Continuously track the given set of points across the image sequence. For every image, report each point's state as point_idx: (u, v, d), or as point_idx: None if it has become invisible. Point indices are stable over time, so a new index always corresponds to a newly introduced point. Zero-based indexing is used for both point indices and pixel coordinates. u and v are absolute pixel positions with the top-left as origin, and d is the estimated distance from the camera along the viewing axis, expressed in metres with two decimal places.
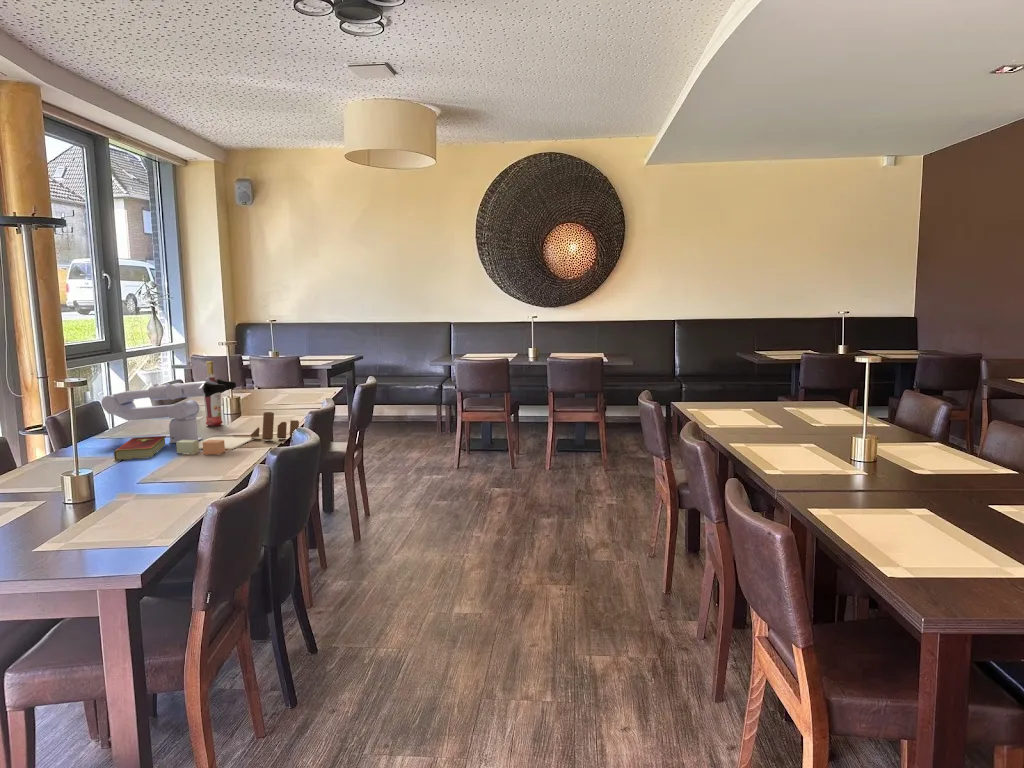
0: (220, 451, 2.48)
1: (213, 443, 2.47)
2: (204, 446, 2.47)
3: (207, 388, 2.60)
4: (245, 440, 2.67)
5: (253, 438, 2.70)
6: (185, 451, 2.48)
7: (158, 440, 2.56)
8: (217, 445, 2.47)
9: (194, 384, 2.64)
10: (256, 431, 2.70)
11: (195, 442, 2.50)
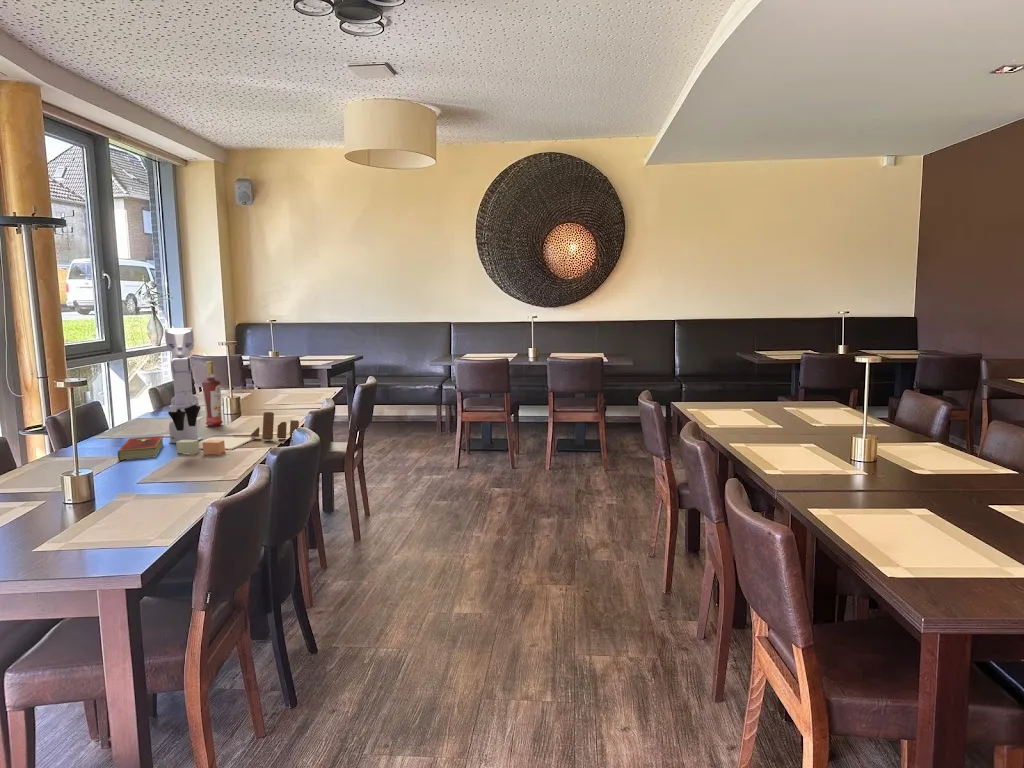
0: (220, 451, 2.48)
1: (213, 443, 2.47)
2: (204, 446, 2.47)
3: None
4: (245, 440, 2.67)
5: (253, 438, 2.70)
6: (185, 451, 2.48)
7: (158, 440, 2.56)
8: (217, 445, 2.47)
9: (185, 392, 2.45)
10: (256, 431, 2.70)
11: (195, 442, 2.50)
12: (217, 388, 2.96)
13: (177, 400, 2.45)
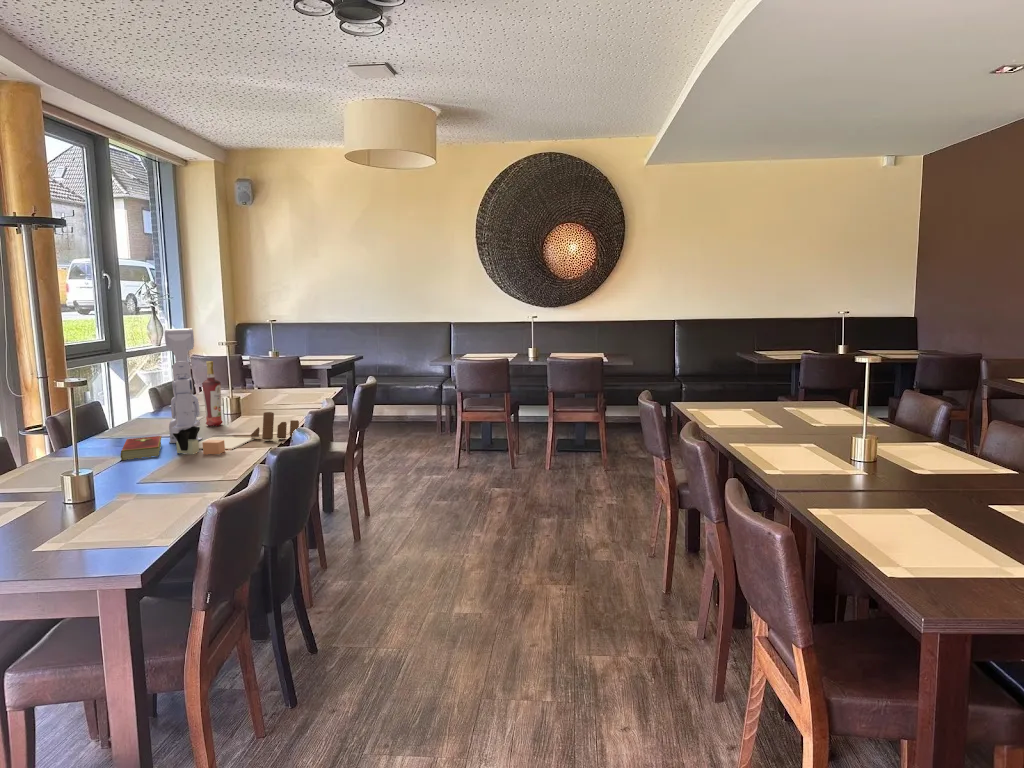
0: (220, 451, 2.48)
1: (213, 443, 2.47)
2: (204, 446, 2.47)
3: (182, 433, 2.46)
4: (245, 440, 2.67)
5: (253, 438, 2.70)
6: (185, 451, 2.48)
7: (158, 440, 2.56)
8: (217, 445, 2.47)
9: (187, 413, 2.46)
10: (256, 431, 2.70)
11: (195, 442, 2.50)
12: (217, 388, 2.96)
13: (179, 421, 2.46)
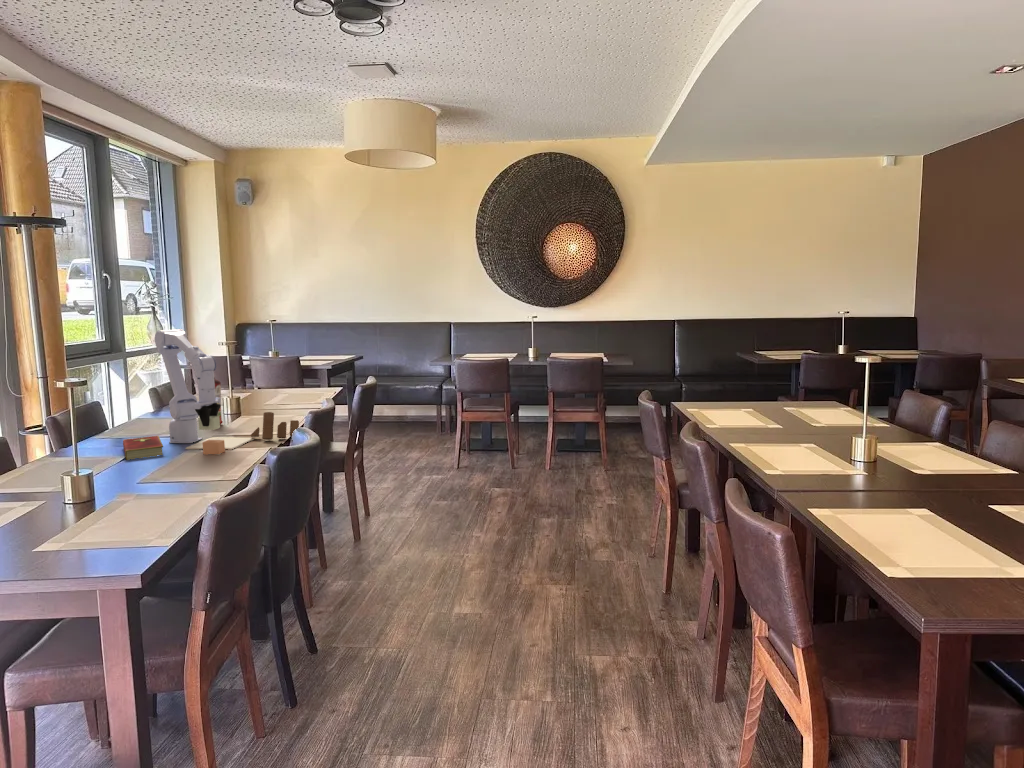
0: (220, 451, 2.48)
1: (213, 443, 2.47)
2: (204, 446, 2.47)
3: (203, 409, 2.54)
4: (245, 440, 2.67)
5: (253, 438, 2.70)
6: (207, 426, 2.56)
7: (157, 439, 2.57)
8: (217, 445, 2.47)
9: (209, 390, 2.54)
10: (256, 431, 2.70)
11: (216, 418, 2.58)
12: (217, 388, 2.96)
13: (201, 398, 2.54)
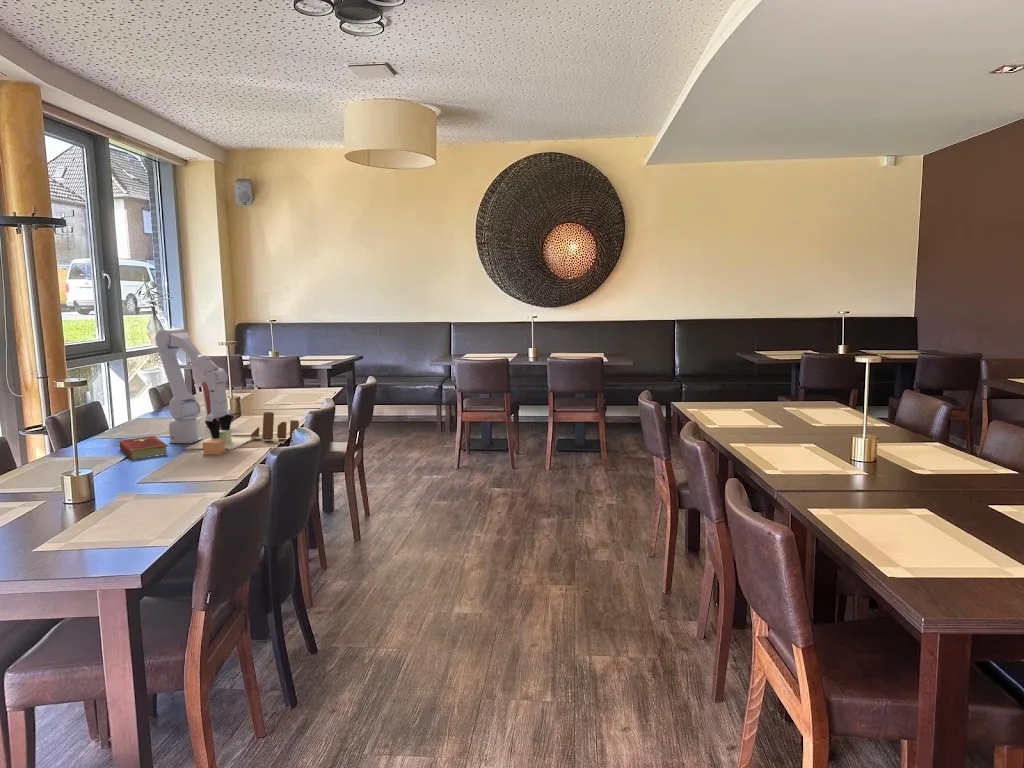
0: (220, 451, 2.48)
1: (213, 443, 2.47)
2: (204, 446, 2.47)
3: None
4: (245, 440, 2.67)
5: (253, 438, 2.70)
6: None
7: (157, 439, 2.57)
8: (217, 445, 2.47)
9: (221, 402, 2.59)
10: (256, 431, 2.70)
11: (228, 432, 2.63)
12: None
13: (212, 410, 2.59)
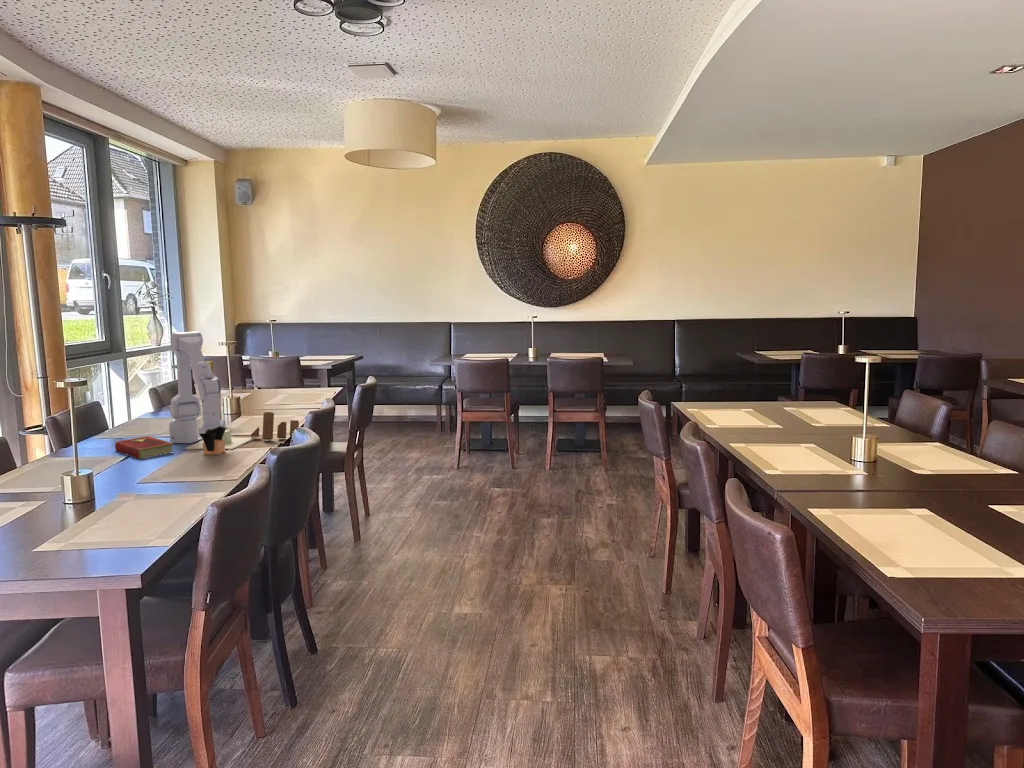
0: (220, 451, 2.48)
1: None
2: (204, 446, 2.47)
3: None
4: (245, 440, 2.67)
5: (253, 438, 2.70)
6: None
7: (155, 439, 2.58)
8: (217, 445, 2.47)
9: (214, 414, 2.45)
10: (256, 431, 2.70)
11: (228, 432, 2.63)
12: None
13: (205, 422, 2.45)
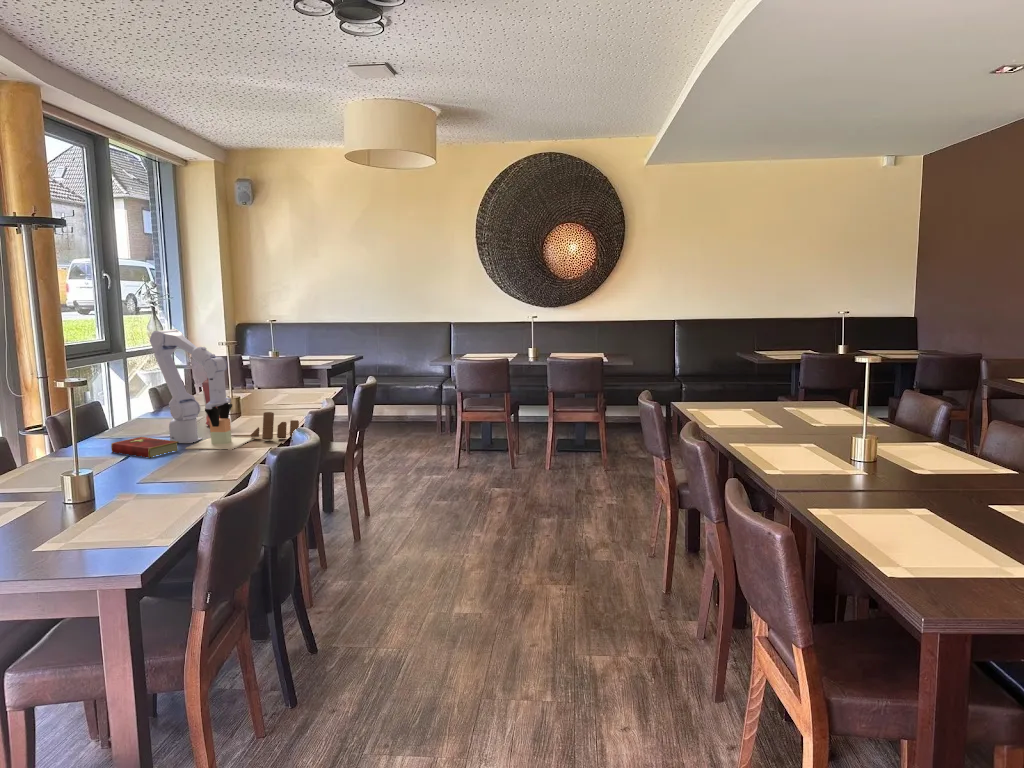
0: (226, 428, 2.61)
1: (219, 421, 2.60)
2: (211, 424, 2.61)
3: None
4: (245, 440, 2.67)
5: (253, 438, 2.70)
6: (219, 440, 2.61)
7: (153, 438, 2.58)
8: (223, 423, 2.60)
9: (220, 391, 2.59)
10: (256, 431, 2.70)
11: (228, 432, 2.63)
12: None
13: (212, 398, 2.59)
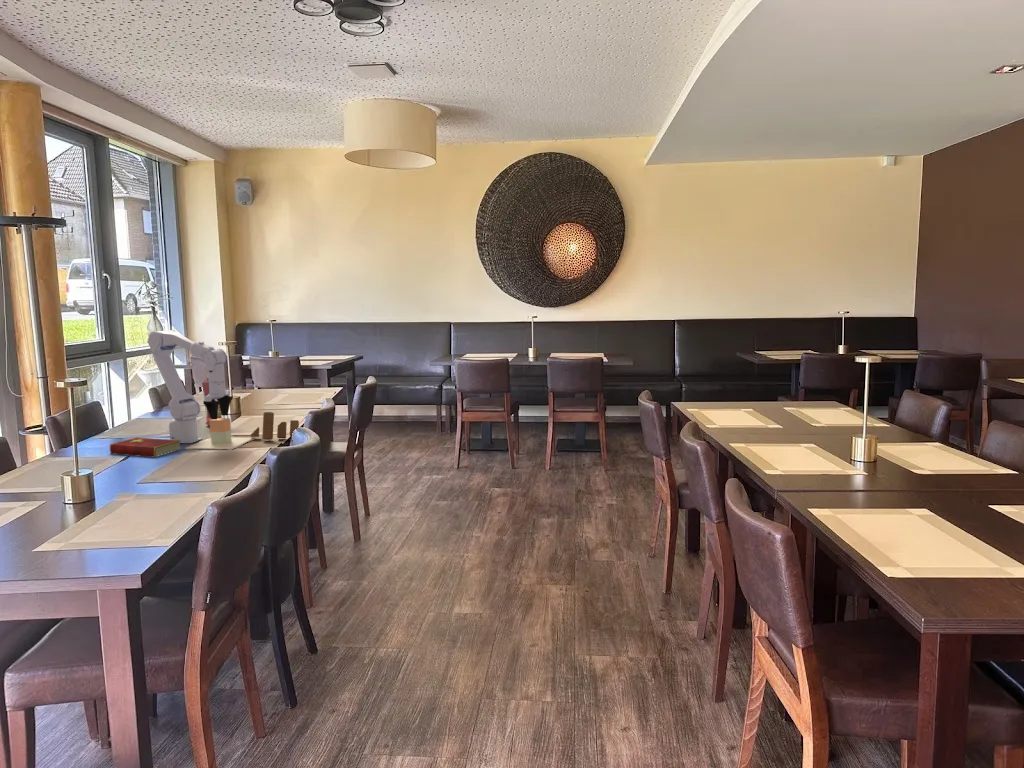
0: (226, 428, 2.61)
1: (219, 421, 2.60)
2: (211, 424, 2.61)
3: (212, 402, 2.56)
4: (245, 440, 2.67)
5: (253, 438, 2.70)
6: (219, 440, 2.61)
7: (151, 438, 2.59)
8: (223, 423, 2.60)
9: (219, 383, 2.58)
10: (256, 431, 2.70)
11: (228, 432, 2.63)
12: None
13: (211, 390, 2.58)
